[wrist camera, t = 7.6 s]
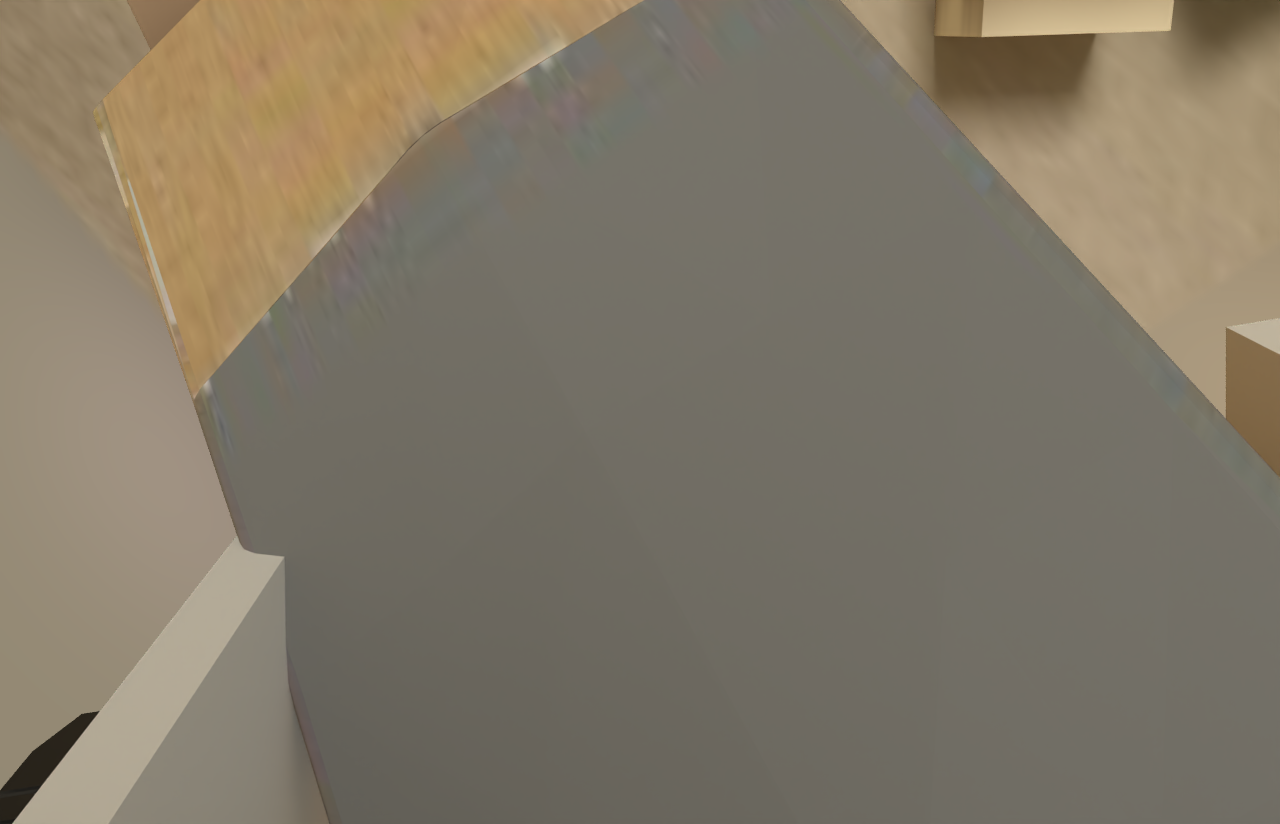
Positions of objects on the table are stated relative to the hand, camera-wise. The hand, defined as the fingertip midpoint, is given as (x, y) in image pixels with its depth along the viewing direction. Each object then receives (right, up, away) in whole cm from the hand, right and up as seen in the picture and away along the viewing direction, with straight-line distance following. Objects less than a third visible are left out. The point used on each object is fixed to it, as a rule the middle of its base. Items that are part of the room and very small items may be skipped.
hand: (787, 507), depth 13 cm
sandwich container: (-1, +2, +3) cm, 4 cm away
